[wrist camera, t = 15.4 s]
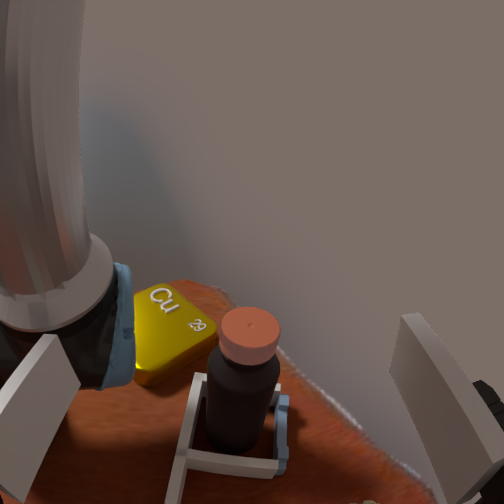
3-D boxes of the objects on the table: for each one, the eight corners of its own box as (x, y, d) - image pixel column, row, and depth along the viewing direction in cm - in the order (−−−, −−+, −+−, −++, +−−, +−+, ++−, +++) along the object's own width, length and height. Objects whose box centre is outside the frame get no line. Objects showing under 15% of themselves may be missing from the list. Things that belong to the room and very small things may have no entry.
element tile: (95, 331, 47) (90, 310, 45) (166, 298, 57) (165, 277, 55) (144, 393, 39) (139, 373, 37) (221, 345, 49) (223, 324, 47)
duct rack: (161, 546, 21) (155, 544, 18) (195, 388, 41) (194, 371, 39) (277, 560, 21) (286, 559, 19) (283, 400, 41) (289, 384, 39)
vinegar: (199, 449, 33) (198, 347, 23) (211, 406, 39) (219, 292, 28) (254, 460, 32) (289, 364, 22) (261, 416, 38) (294, 306, 28)
